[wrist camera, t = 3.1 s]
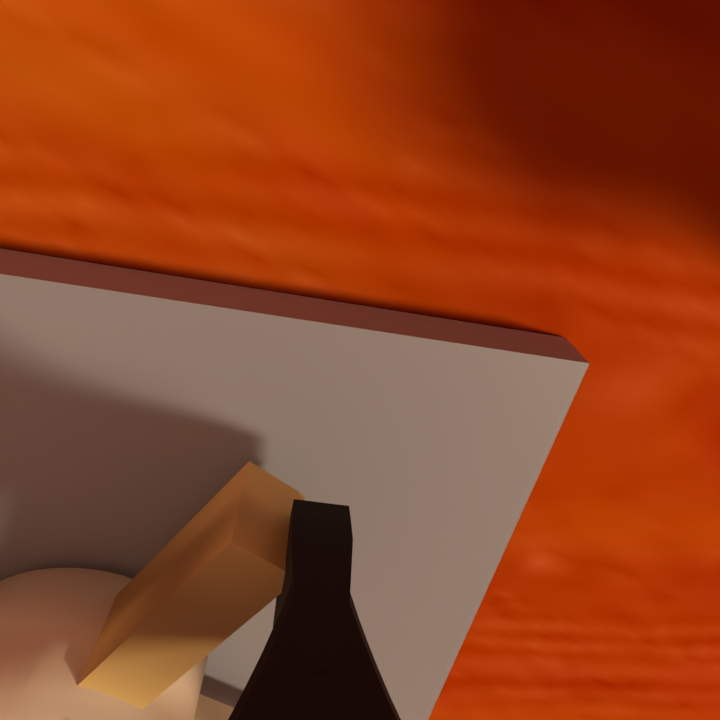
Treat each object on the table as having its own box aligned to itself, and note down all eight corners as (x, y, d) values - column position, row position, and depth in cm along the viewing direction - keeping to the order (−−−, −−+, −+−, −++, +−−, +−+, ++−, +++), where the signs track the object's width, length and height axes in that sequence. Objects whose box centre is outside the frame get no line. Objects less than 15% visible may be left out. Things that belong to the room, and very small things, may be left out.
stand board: (382, 777, 20) (385, 825, 19) (-170, 756, 18) (-210, 810, 16) (565, 337, 11) (596, 370, 10) (-518, 166, 9) (-672, 180, 7)
